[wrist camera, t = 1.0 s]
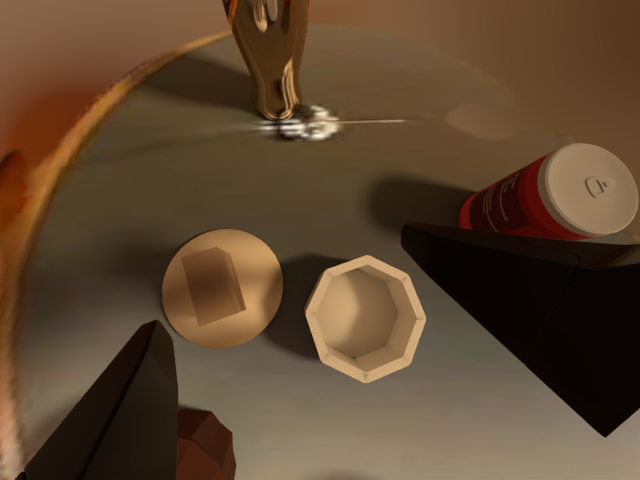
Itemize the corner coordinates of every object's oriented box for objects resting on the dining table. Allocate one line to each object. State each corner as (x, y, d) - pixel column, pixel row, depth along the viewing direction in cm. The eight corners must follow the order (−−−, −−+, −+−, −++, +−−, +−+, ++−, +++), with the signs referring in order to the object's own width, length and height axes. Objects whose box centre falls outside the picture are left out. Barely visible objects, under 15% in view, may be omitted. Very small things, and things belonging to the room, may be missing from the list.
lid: (298, 321, 26) (297, 329, 21) (182, 364, 24) (149, 386, 19) (264, 217, 28) (256, 200, 22) (155, 251, 26) (118, 241, 21)
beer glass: (287, 134, 30) (276, -15, 15) (238, 107, 30) (179, -68, 15) (315, 93, 31) (330, -80, 17) (268, 67, 31) (241, -127, 17)
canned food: (529, 233, 30) (659, 202, 19) (482, 267, 28) (592, 255, 18) (491, 182, 31) (593, 125, 20) (443, 213, 29) (525, 170, 19)
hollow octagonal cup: (413, 340, 26) (439, 351, 21) (326, 376, 25) (333, 398, 20) (379, 252, 28) (396, 244, 23) (295, 282, 26) (294, 280, 22)
